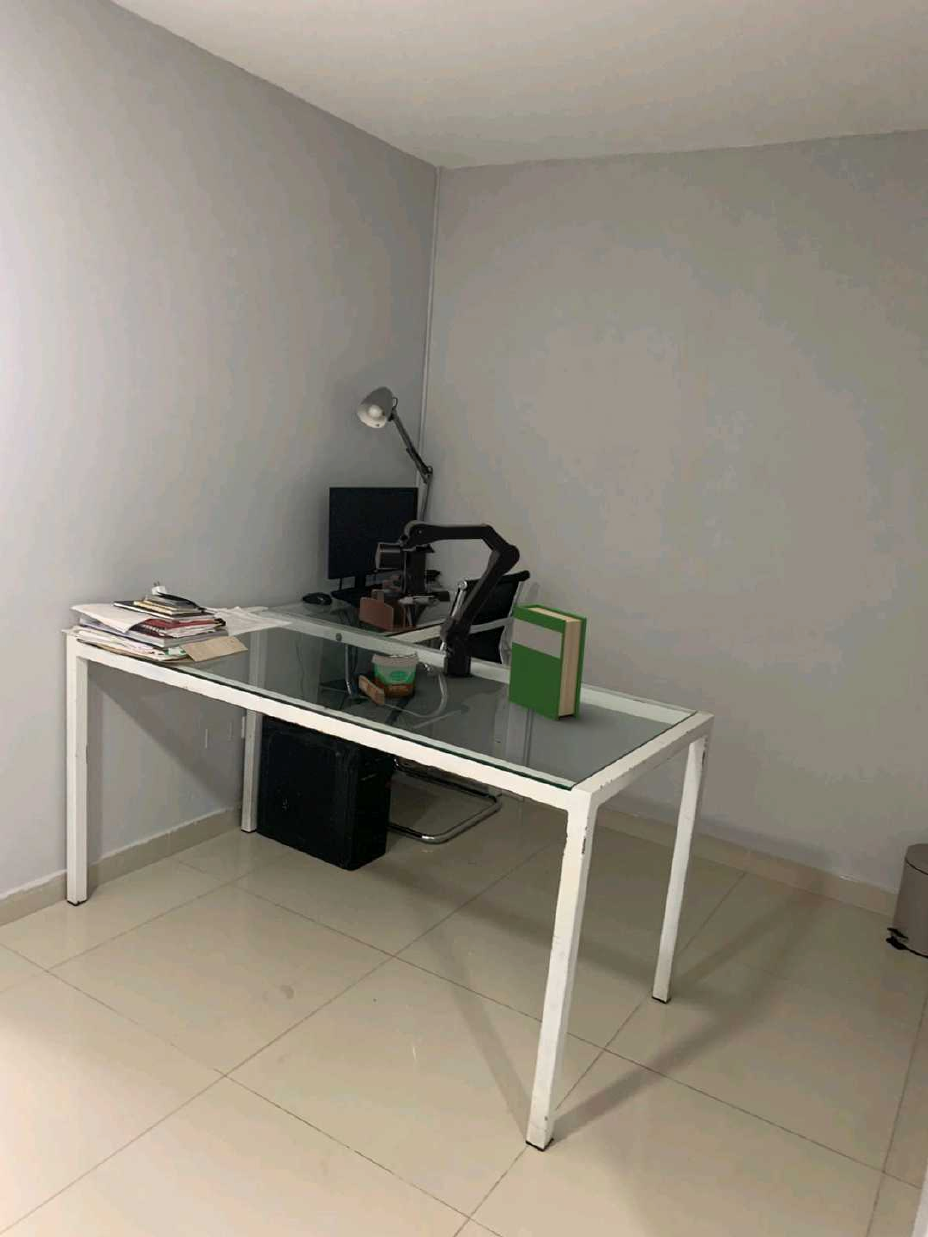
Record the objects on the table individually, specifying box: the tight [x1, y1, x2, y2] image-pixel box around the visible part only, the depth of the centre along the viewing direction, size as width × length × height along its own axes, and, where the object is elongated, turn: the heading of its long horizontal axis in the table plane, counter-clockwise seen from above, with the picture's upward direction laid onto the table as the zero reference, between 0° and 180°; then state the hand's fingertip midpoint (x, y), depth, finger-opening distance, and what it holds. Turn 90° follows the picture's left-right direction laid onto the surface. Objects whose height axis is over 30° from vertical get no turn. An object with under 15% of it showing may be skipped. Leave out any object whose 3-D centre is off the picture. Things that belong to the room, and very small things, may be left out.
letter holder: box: [358, 579, 418, 633], centre depth 307 cm, size 10×20×14 cm, turn 38°
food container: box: [371, 650, 420, 698], centre depth 230 cm, size 12×6×10 cm, turn 118°
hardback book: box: [507, 603, 588, 722], centre depth 224 cm, size 18×7×24 cm, turn 36°
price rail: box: [358, 675, 386, 707], centre depth 227 cm, size 1×16×3 cm, turn 25°
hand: (412, 627), depth 246 cm, fingers closed
